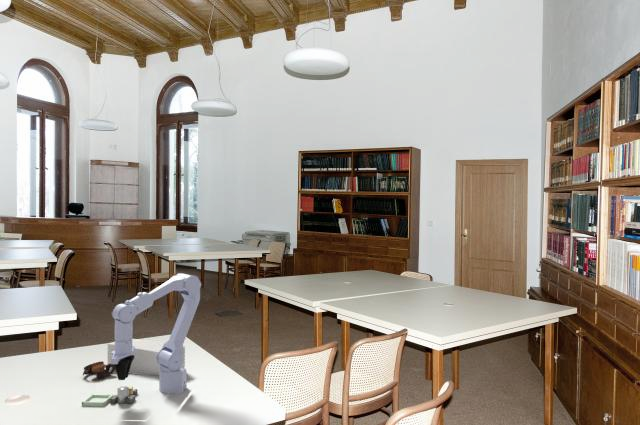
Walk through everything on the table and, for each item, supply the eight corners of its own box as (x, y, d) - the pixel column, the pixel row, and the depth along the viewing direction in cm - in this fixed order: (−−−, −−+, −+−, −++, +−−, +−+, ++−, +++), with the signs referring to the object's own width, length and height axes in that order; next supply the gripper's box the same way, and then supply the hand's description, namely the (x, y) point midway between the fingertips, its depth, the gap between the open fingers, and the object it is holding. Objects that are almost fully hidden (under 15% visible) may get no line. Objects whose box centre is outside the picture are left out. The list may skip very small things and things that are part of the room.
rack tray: (113, 399, 169) (113, 394, 169) (104, 407, 162) (104, 402, 162) (92, 398, 169) (92, 394, 169) (81, 406, 162) (81, 402, 162)
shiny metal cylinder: (130, 400, 168) (130, 386, 168) (125, 405, 164) (126, 390, 164) (120, 400, 168) (120, 386, 168) (115, 404, 164) (115, 390, 164)
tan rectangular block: (133, 393, 173) (133, 386, 173) (131, 395, 172) (131, 388, 172) (120, 393, 174) (120, 386, 174) (118, 395, 172) (118, 388, 172)
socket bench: (150, 392, 178) (150, 384, 178) (131, 411, 161) (131, 402, 161) (102, 391, 179) (102, 383, 179) (78, 410, 162) (78, 401, 162)
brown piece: (84, 387, 183) (79, 366, 186) (88, 390, 192) (83, 370, 194) (117, 375, 188) (112, 355, 191) (119, 379, 196) (114, 359, 199)
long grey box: (184, 372, 201) (185, 346, 201) (167, 380, 192) (167, 353, 191) (126, 361, 214) (126, 337, 214) (107, 369, 204) (107, 343, 204)
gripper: (121, 333, 173) (120, 371, 173) (102, 345, 159) (101, 386, 159) (140, 334, 173) (140, 371, 173) (123, 345, 159) (122, 386, 159)
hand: (123, 378), depth 166 cm, fingers closed
